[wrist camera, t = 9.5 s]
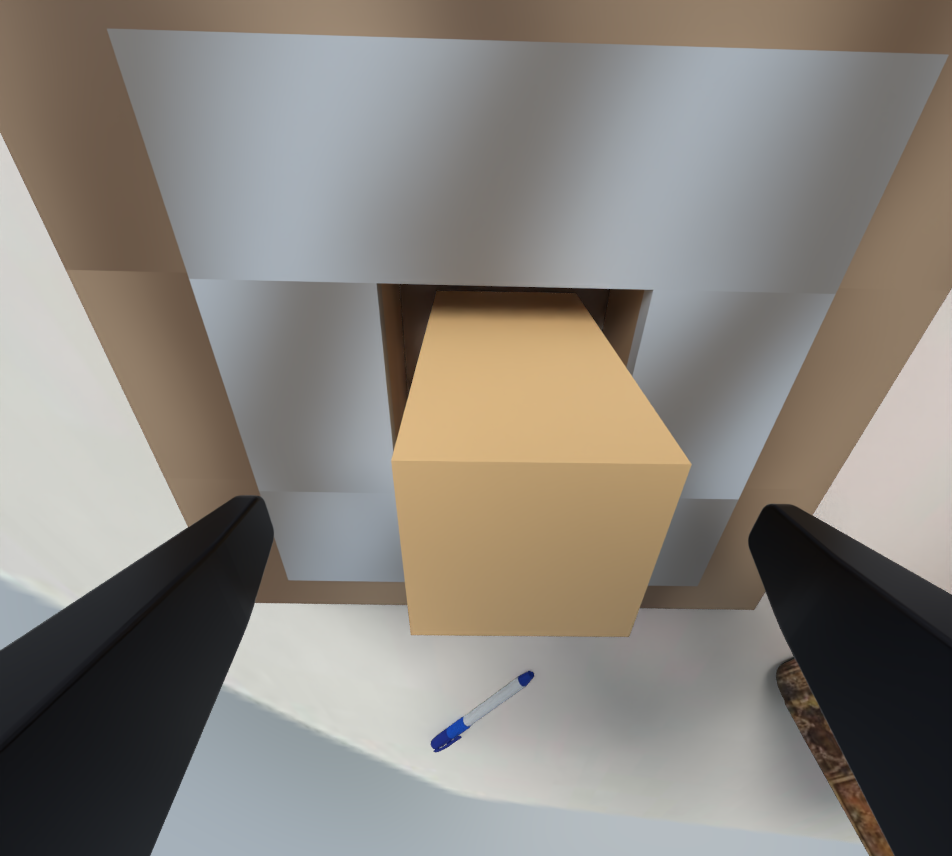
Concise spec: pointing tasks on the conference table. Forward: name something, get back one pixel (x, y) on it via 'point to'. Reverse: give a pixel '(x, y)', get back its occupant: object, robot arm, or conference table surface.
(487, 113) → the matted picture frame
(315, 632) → the conference table surface
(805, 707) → the book
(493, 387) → the tan cardboard-colored box
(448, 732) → the ballpoint pen
